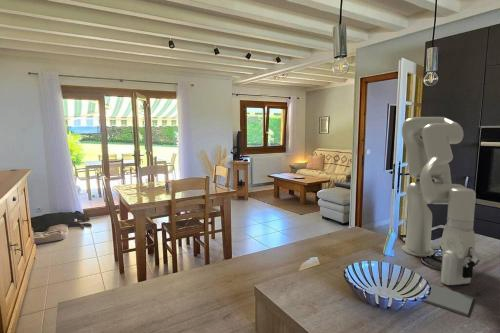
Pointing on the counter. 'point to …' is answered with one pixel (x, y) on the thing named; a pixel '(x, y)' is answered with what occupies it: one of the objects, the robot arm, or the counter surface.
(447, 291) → the mat
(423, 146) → the robot arm
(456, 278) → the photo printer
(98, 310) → the counter surface
